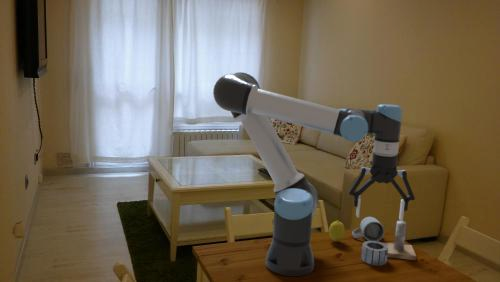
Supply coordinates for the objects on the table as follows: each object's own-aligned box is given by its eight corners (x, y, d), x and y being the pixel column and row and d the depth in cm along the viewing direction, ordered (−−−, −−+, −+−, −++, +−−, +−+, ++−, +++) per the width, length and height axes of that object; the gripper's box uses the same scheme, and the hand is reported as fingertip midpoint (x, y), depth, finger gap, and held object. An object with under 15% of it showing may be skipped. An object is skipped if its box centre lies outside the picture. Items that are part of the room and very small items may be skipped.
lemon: (324, 241, 166) (326, 219, 164) (334, 237, 170) (336, 216, 168) (337, 246, 162) (339, 224, 160) (346, 242, 166) (348, 221, 164)
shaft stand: (384, 256, 155) (388, 225, 153) (381, 246, 164) (384, 216, 162) (415, 260, 154) (419, 229, 152) (410, 249, 162) (414, 219, 160)
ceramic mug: (377, 233, 175) (379, 214, 174) (383, 242, 167) (385, 222, 166) (349, 233, 175) (351, 213, 174) (354, 241, 167) (355, 221, 166)
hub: (362, 263, 149) (363, 249, 148) (360, 253, 157) (361, 239, 156) (387, 266, 148) (389, 252, 147) (384, 256, 156) (386, 242, 155)
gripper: (345, 153, 144) (340, 218, 148) (429, 159, 140) (421, 225, 144) (344, 148, 151) (339, 210, 155) (424, 154, 147) (416, 217, 151)
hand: (379, 218), depth 149 cm, fingers open, 13 cm apart
